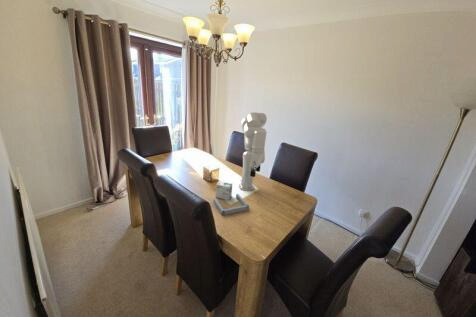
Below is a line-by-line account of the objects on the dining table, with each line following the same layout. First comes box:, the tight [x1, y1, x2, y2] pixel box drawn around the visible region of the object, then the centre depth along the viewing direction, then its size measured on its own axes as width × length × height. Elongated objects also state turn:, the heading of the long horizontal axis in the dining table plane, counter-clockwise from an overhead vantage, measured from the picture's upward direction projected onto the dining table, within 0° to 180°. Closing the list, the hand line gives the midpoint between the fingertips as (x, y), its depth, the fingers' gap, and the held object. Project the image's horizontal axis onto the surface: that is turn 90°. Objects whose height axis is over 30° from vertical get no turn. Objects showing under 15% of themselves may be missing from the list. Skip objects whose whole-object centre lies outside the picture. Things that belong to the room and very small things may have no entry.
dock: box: [212, 193, 250, 216], centre depth 141 cm, size 17×20×3 cm
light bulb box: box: [215, 180, 233, 200], centre depth 151 cm, size 11×7×11 cm, turn 74°
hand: (255, 173), depth 136 cm, fingers open, 9 cm apart
